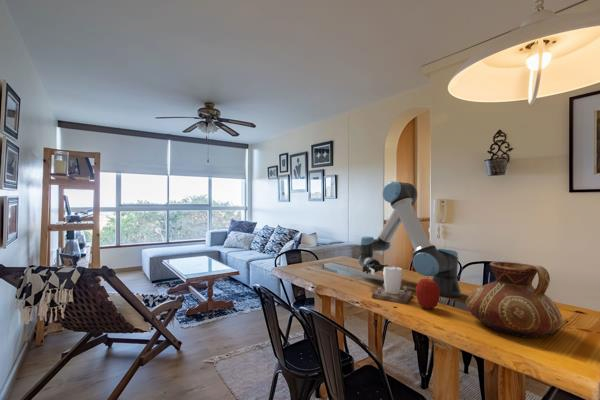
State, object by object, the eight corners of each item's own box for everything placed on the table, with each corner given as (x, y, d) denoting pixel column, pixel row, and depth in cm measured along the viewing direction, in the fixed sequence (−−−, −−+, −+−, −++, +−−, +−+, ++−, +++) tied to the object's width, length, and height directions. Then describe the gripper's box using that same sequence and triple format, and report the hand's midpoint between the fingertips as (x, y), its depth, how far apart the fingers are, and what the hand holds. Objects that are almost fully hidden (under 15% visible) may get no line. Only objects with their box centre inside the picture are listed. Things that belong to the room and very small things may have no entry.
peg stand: (411, 295, 156) (412, 286, 156) (406, 303, 142) (406, 293, 142) (380, 290, 164) (380, 281, 164) (371, 297, 150) (372, 288, 150)
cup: (401, 291, 156) (401, 267, 157) (402, 295, 148) (402, 270, 148) (382, 289, 159) (383, 265, 159) (382, 293, 150) (383, 269, 150)
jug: (453, 323, 119) (455, 258, 120) (480, 308, 139) (481, 252, 140) (552, 352, 97) (554, 272, 98) (567, 329, 117) (568, 263, 118)
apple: (426, 312, 130) (427, 279, 131) (410, 305, 140) (410, 274, 140) (445, 310, 134) (446, 278, 135) (427, 303, 144) (428, 273, 144)
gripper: (392, 271, 183) (409, 280, 162) (351, 271, 180) (362, 279, 159) (392, 258, 183) (409, 265, 162) (351, 258, 180) (363, 265, 159)
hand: (386, 272), depth 161 cm, fingers open, 13 cm apart
